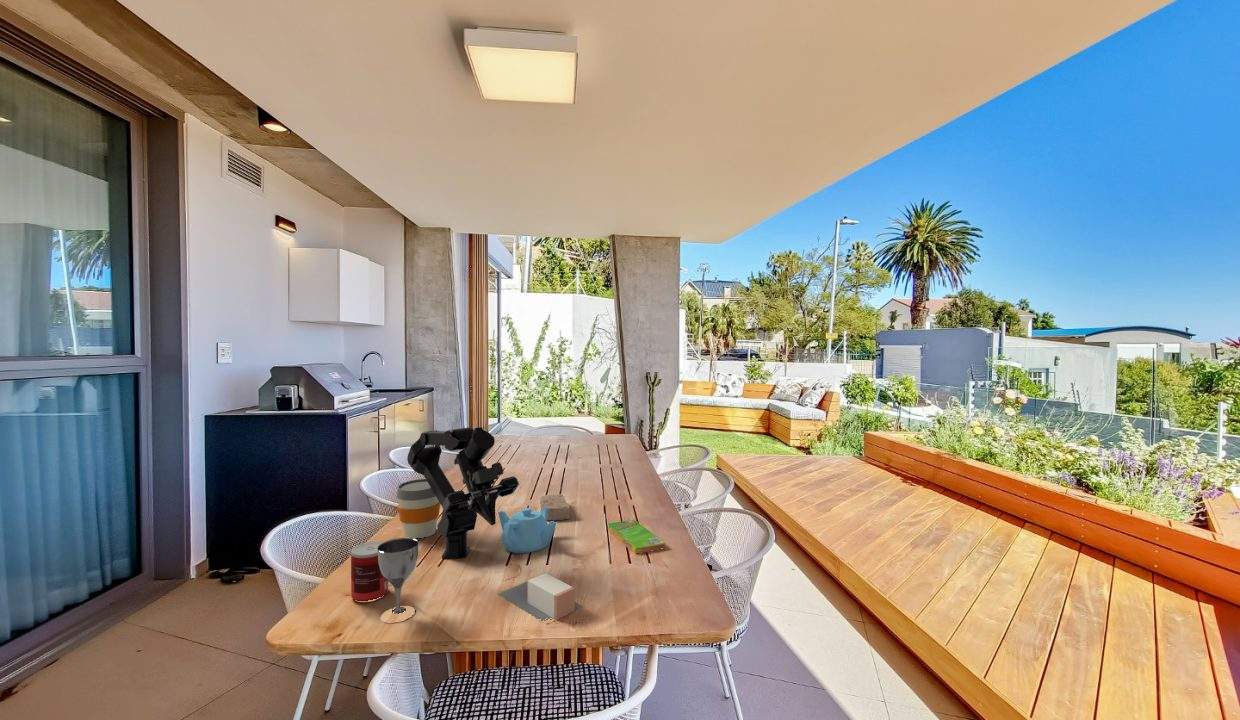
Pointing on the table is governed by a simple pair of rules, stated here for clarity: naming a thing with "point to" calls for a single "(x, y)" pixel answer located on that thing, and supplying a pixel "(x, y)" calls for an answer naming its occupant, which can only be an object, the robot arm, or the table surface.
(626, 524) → the game box
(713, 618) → the table surface
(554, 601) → the tall block
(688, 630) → the table surface
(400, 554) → the wine glass
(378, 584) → the canned food
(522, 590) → the rubber mat
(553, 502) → the brick
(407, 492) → the reusable coffee cup
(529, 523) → the teapot
